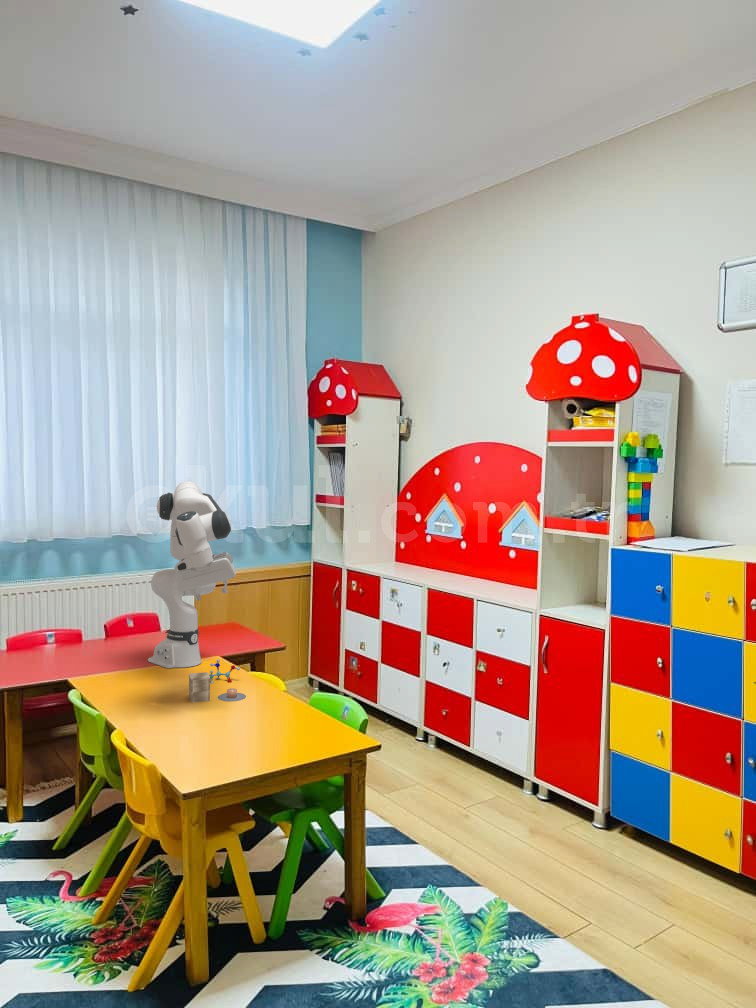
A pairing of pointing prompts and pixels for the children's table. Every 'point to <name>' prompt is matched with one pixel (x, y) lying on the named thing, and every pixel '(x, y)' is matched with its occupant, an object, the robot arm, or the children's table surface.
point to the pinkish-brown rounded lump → (231, 693)
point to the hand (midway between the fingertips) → (212, 596)
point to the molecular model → (220, 672)
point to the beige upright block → (199, 687)
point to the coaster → (224, 698)
